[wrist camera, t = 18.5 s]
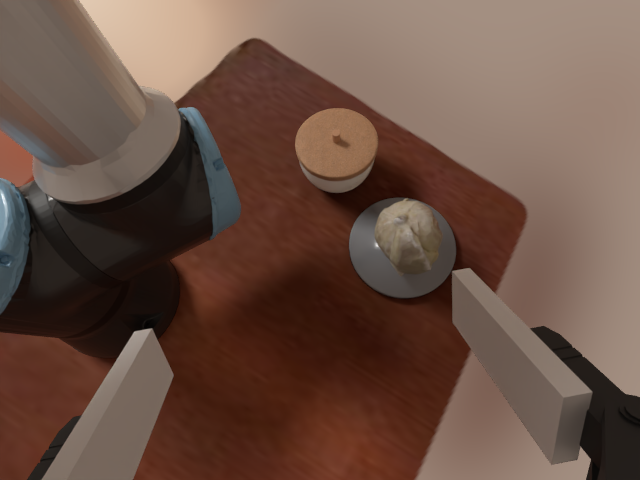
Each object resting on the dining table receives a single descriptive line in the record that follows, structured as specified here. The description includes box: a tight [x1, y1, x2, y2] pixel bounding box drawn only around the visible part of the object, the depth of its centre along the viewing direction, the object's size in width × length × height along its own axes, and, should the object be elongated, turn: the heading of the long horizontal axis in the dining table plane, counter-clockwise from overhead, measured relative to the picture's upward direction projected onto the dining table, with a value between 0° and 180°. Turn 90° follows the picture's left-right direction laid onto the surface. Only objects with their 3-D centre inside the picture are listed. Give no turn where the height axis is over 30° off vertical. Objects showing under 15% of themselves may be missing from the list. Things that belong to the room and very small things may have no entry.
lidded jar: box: [295, 108, 378, 193], centre depth 47 cm, size 11×11×9 cm
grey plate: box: [349, 198, 456, 299], centre depth 47 cm, size 14×14×1 cm
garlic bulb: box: [374, 199, 443, 276], centre depth 42 cm, size 9×8×10 cm
